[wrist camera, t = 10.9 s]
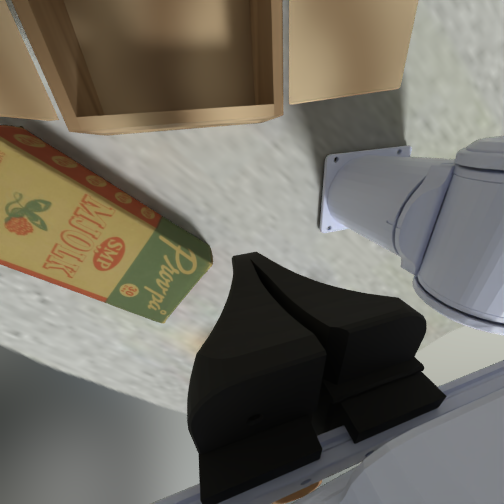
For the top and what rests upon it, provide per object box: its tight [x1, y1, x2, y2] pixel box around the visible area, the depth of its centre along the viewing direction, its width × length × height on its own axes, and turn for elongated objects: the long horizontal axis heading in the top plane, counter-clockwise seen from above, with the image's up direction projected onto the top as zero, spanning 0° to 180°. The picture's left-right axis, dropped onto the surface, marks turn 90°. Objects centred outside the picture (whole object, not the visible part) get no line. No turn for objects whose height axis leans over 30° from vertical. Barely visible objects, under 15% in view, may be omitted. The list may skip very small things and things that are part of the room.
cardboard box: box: [11, 0, 283, 135], centre depth 12 cm, size 12×10×5 cm
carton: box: [0, 125, 213, 323], centre depth 17 cm, size 8×16×4 cm, turn 48°
